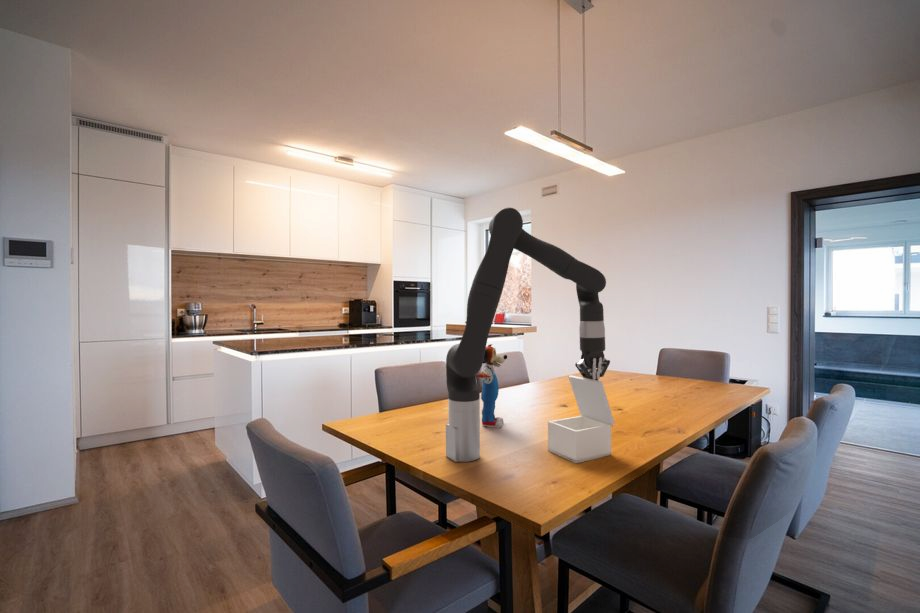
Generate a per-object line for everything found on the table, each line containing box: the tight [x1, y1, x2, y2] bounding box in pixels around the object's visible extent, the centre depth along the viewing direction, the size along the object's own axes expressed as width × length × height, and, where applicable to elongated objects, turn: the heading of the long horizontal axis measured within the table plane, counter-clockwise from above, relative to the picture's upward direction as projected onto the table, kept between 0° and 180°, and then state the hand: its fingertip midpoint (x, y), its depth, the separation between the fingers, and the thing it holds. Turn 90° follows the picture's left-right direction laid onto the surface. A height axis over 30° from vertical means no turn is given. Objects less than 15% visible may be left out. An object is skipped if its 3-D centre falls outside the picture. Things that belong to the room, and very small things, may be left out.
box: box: [547, 415, 612, 464], centre depth 130 cm, size 14×12×9 cm
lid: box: [568, 374, 616, 426], centre depth 132 cm, size 14×13×1 cm
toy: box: [476, 344, 508, 428], centre depth 160 cm, size 34×10×30 cm, turn 168°
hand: (593, 391), depth 133 cm, fingers closed
